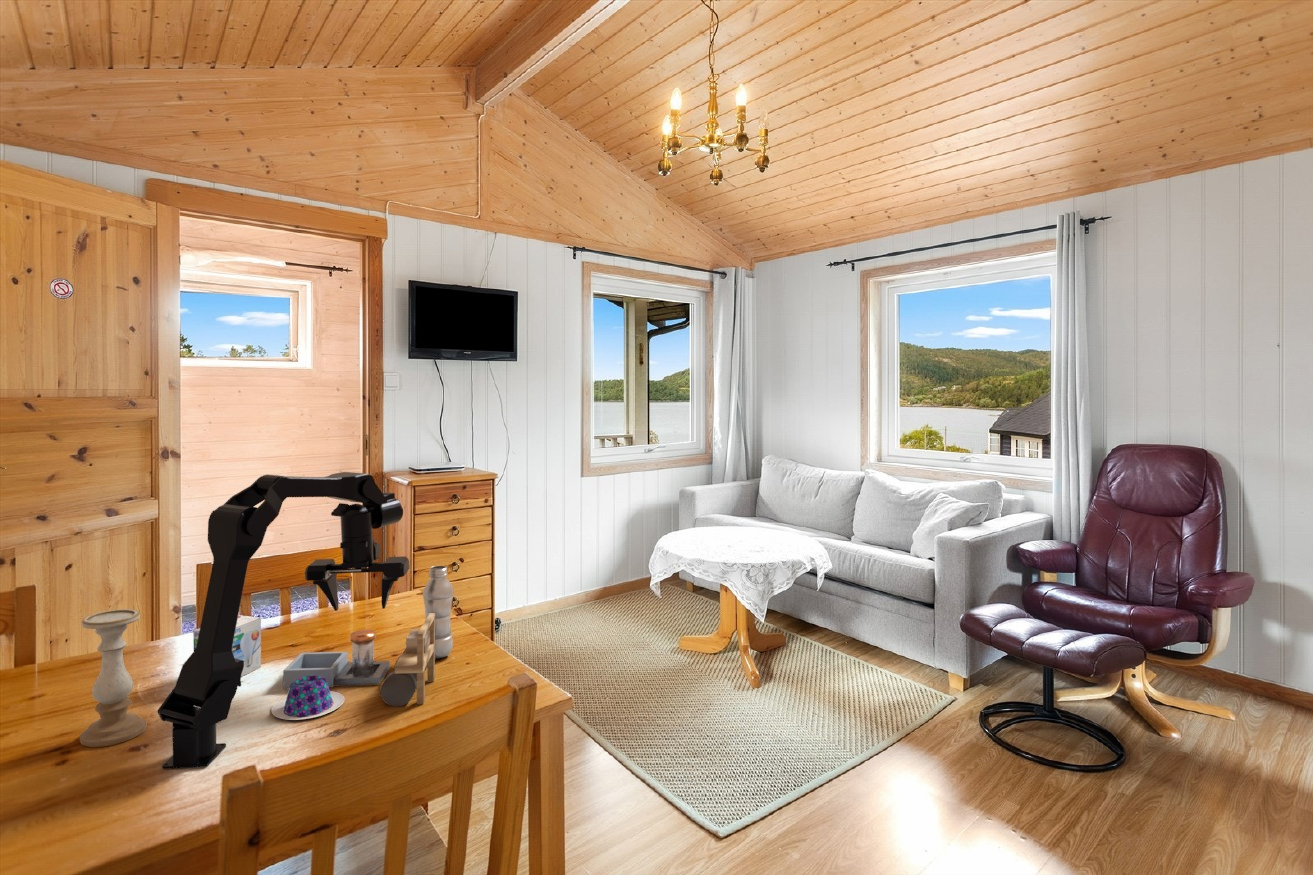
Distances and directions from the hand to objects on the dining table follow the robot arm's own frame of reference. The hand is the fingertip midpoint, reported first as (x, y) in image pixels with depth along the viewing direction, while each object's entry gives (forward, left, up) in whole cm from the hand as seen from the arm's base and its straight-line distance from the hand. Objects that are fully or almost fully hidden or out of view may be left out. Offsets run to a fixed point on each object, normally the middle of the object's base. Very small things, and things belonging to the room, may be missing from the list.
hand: (360, 609), depth 139 cm
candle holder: (-21, +33, -14) cm, 42 cm away
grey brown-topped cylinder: (0, -1, -14) cm, 14 cm away
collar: (0, -1, -14) cm, 14 cm away
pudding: (-13, +5, -15) cm, 20 cm away
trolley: (-8, -12, -14) cm, 20 cm away
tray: (0, +8, -14) cm, 16 cm away
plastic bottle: (+10, -14, -14) cm, 22 cm away
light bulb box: (+3, +26, -14) cm, 30 cm away
